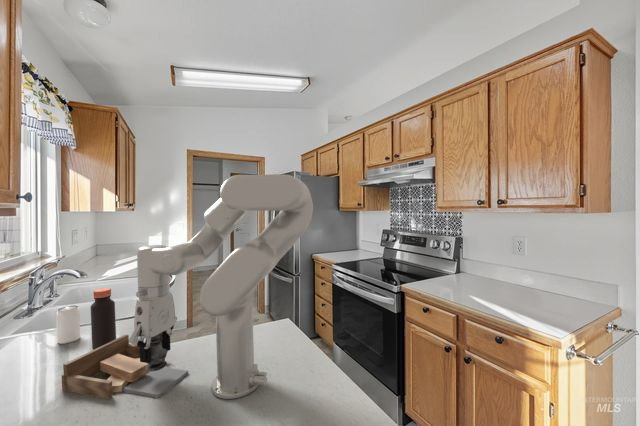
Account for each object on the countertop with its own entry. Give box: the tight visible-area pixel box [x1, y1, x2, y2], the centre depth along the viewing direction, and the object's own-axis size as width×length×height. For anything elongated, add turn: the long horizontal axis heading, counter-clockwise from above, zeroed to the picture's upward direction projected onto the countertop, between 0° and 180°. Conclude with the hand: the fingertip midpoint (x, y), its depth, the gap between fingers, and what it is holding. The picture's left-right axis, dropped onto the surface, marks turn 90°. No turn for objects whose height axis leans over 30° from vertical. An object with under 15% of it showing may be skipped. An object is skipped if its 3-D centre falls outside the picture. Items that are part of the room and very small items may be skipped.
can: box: [55, 305, 81, 345], centre depth 107 cm, size 6×6×12 cm
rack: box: [61, 334, 166, 400], centre depth 85 cm, size 16×18×7 cm
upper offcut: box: [100, 354, 149, 383], centre depth 83 cm, size 5×14×2 cm, turn 66°
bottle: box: [90, 287, 117, 350], centre depth 102 cm, size 7×7×20 cm
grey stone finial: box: [145, 333, 169, 372], centre depth 80 cm, size 6×6×12 cm
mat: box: [123, 366, 189, 399], centre depth 80 cm, size 11×11×1 cm
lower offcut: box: [106, 358, 140, 393], centre depth 83 cm, size 5×14×2 cm, turn 12°
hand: (155, 355), depth 80 cm, fingers closed on grey stone finial, 5 cm apart
